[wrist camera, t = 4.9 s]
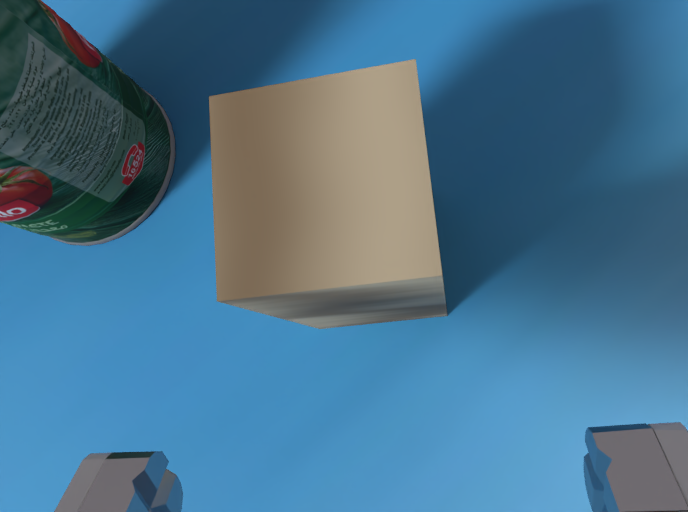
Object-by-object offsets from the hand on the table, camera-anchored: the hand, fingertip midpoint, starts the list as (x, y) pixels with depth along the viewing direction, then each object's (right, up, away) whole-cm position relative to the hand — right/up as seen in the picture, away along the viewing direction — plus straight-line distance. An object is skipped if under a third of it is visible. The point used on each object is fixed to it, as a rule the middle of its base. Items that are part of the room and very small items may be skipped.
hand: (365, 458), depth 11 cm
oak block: (+1, +4, +11) cm, 12 cm away
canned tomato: (-12, +8, +15) cm, 21 cm away
